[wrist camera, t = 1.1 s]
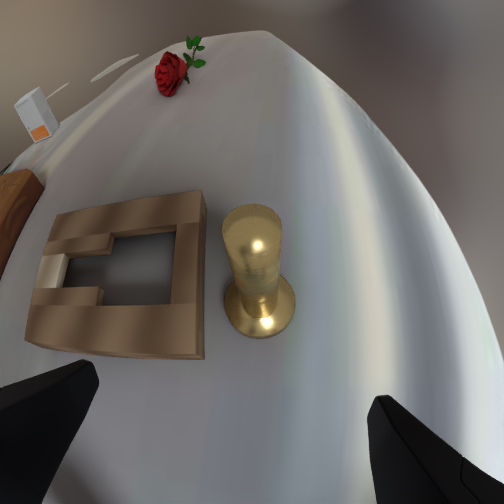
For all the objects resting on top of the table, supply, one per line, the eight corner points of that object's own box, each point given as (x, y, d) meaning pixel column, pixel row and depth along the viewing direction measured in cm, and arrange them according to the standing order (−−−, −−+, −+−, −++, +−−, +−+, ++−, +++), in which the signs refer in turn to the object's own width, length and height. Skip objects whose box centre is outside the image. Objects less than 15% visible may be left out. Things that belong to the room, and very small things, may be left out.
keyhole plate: (206, 208, 28) (201, 190, 25) (204, 359, 20) (195, 353, 18) (68, 228, 28) (56, 215, 26) (41, 347, 21) (24, 340, 18)
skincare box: (35, 144, 43) (12, 106, 32) (42, 133, 45) (22, 96, 34) (52, 136, 43) (30, 95, 32) (60, 125, 45) (40, 85, 34)
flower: (186, 18, 47) (148, 62, 34) (221, 28, 51) (200, 75, 38) (176, 46, 55) (139, 102, 42) (208, 54, 58) (186, 113, 45)
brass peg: (260, 353, 20) (250, 308, 11) (212, 305, 22) (170, 229, 13) (308, 304, 22) (335, 225, 13) (259, 263, 24) (252, 169, 15)
